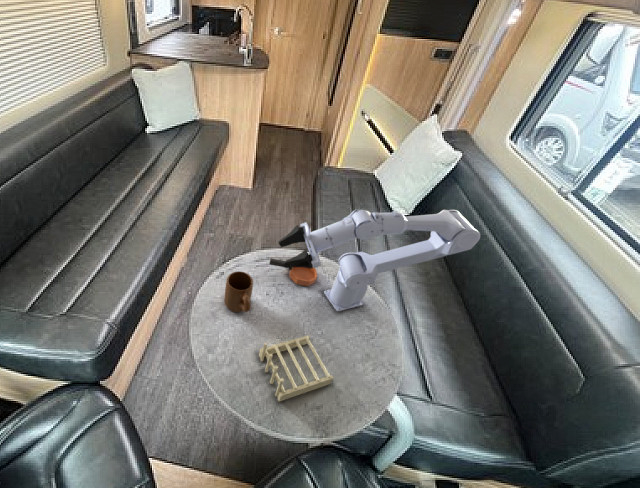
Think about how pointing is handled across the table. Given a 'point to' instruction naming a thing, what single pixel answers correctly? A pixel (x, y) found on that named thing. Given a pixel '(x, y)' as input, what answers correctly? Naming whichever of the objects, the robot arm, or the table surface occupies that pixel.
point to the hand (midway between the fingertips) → (281, 254)
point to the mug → (238, 292)
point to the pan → (298, 273)
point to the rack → (307, 386)
